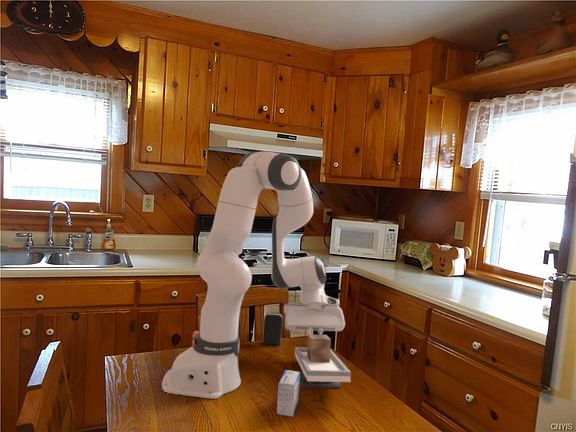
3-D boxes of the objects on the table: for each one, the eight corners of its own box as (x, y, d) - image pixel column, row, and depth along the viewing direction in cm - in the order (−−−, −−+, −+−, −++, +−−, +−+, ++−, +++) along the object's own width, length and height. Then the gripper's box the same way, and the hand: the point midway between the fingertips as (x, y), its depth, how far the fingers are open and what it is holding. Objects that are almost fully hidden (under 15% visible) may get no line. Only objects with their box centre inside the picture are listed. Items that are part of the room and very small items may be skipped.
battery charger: (281, 341, 153) (283, 312, 152) (281, 345, 149) (283, 315, 148) (262, 340, 152) (264, 310, 151) (262, 344, 149) (264, 314, 148)
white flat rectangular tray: (307, 381, 109) (307, 370, 110) (294, 355, 137) (295, 347, 137) (350, 382, 111) (350, 371, 111) (329, 356, 138) (329, 348, 138)
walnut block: (310, 362, 124) (311, 338, 124) (307, 356, 130) (308, 334, 131) (329, 362, 124) (330, 339, 125) (325, 356, 131) (326, 334, 132)
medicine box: (293, 417, 104) (295, 385, 103) (276, 414, 105) (278, 382, 104) (298, 401, 112) (300, 371, 111) (282, 398, 112) (284, 369, 112)
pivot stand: (301, 387, 120) (301, 374, 119) (297, 374, 128) (298, 362, 127) (340, 387, 121) (341, 375, 120) (335, 374, 129) (336, 363, 128)
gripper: (284, 298, 137) (285, 337, 128) (343, 300, 139) (348, 339, 131) (282, 306, 142) (283, 344, 133) (339, 308, 144) (343, 346, 135)
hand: (316, 342), depth 132 cm, fingers closed, pressing on walnut block
